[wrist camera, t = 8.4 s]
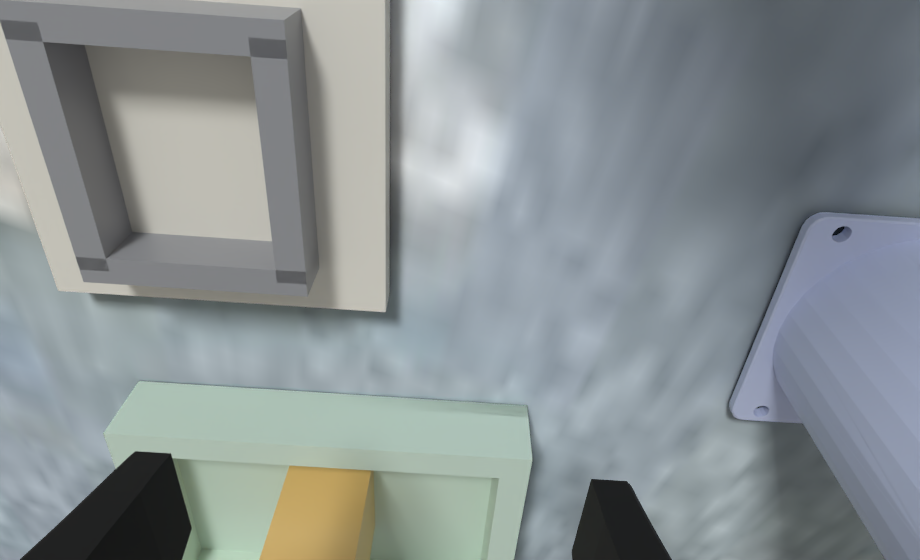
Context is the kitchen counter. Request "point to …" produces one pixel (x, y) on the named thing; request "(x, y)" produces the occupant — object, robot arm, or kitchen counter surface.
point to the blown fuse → (323, 516)
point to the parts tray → (336, 464)
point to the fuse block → (205, 146)
